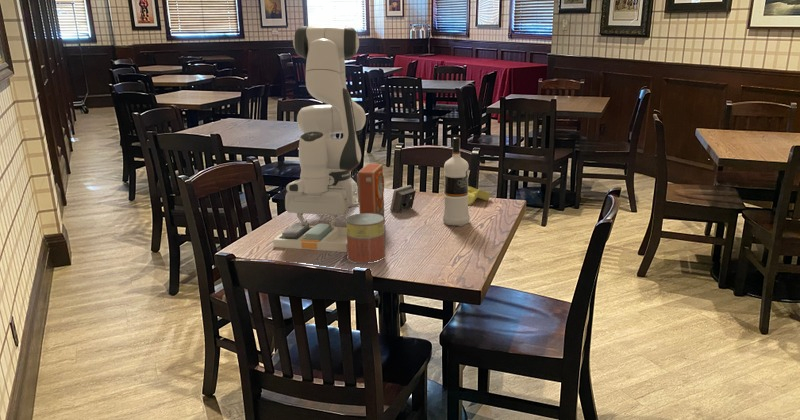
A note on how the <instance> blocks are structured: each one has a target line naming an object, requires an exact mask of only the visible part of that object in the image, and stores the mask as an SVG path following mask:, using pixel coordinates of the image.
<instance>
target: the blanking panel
mask: <svg viewBox="0 0 800 420" xmlns="http://www.w3.org/2000/svg"><path fill="white" fill-rule="evenodd" d="M314 226H315V227H313V228H312V229H311V230H310V231H308V232H307V233H306V234H305V239H310V240H320V241H321V240H322V239H323V238H324V237H326V236H327V235H328V234H329V233H330V232H331V231H332V229H331V228H329V224H328V223H317V224H316V225H314Z"/></svg>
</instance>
